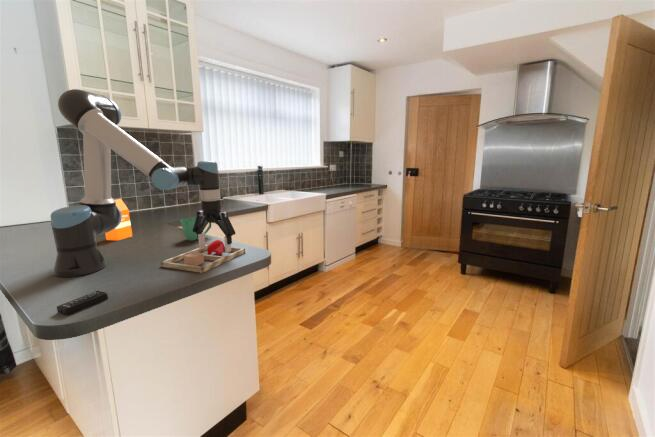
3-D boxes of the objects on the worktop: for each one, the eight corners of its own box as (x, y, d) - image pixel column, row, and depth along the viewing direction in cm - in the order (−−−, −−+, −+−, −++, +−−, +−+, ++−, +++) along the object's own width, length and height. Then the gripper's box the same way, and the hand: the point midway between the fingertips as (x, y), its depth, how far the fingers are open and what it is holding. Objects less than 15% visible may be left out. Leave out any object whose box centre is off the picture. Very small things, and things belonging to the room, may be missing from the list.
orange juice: (105, 239, 161) (99, 201, 158) (120, 235, 170) (115, 198, 166) (118, 240, 160) (112, 201, 156) (132, 236, 168) (127, 198, 164)
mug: (184, 242, 152) (182, 222, 150) (180, 238, 160) (178, 219, 158) (215, 237, 161) (213, 218, 159) (210, 234, 169) (208, 215, 167)
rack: (202, 272, 112) (201, 268, 112) (161, 266, 120) (160, 262, 119) (245, 252, 135) (245, 248, 135) (208, 248, 143) (207, 244, 142)
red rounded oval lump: (220, 243, 138) (208, 238, 134) (227, 241, 134) (214, 236, 130) (215, 261, 135) (202, 256, 131) (222, 259, 131) (208, 254, 127)
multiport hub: (109, 299, 94) (107, 292, 93) (67, 317, 84) (65, 309, 83) (99, 297, 95) (97, 290, 95) (57, 314, 85) (55, 306, 85)
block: (195, 267, 119) (194, 256, 118) (184, 266, 121) (183, 255, 120) (204, 262, 124) (203, 253, 123) (193, 261, 125) (192, 252, 124)
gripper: (242, 199, 127) (245, 250, 131) (194, 197, 136) (198, 245, 141) (229, 202, 120) (233, 255, 124) (180, 199, 129) (185, 249, 134)
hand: (215, 250), depth 133 cm, fingers open, 13 cm apart
